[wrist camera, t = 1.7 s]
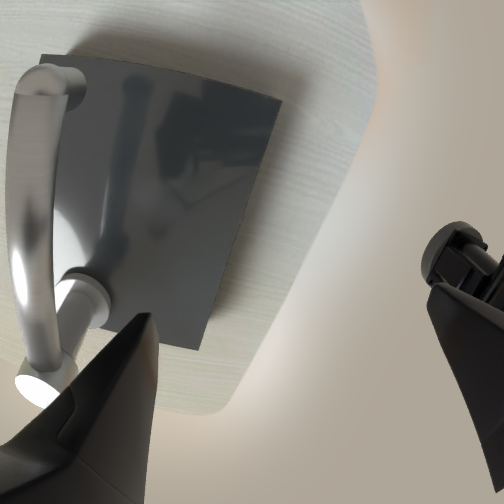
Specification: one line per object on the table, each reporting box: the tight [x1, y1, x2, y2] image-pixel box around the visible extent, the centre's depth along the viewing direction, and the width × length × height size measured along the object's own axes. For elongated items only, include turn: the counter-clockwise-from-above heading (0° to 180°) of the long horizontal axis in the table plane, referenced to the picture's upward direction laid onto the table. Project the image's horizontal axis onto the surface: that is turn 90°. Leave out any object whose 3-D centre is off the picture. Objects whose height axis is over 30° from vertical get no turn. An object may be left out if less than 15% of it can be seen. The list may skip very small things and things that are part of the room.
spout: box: [5, 63, 87, 409], centre depth 11 cm, size 17×3×4 cm, turn 162°
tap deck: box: [39, 54, 282, 361], centre depth 16 cm, size 14×18×9 cm
